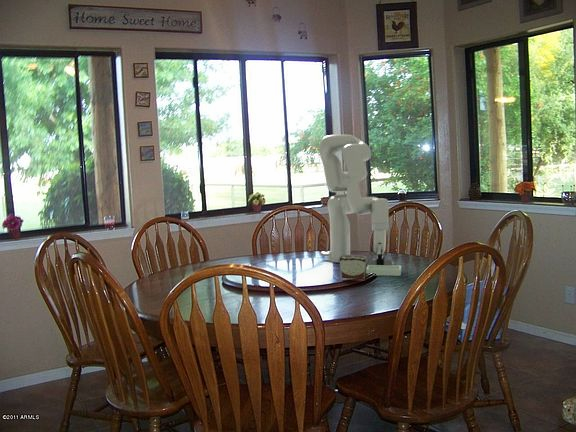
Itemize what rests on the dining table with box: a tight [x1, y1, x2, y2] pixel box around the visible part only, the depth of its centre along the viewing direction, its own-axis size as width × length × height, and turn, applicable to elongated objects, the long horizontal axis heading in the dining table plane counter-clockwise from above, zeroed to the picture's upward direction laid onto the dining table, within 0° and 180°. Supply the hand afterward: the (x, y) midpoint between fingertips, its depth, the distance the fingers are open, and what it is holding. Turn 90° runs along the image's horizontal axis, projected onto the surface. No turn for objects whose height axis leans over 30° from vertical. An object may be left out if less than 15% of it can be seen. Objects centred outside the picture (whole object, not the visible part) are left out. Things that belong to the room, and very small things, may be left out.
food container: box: [338, 254, 369, 279], centre depth 268 cm, size 12×6×10 cm, turn 71°
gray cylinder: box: [368, 258, 395, 265], centre depth 289 cm, size 11×4×4 cm, turn 79°
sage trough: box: [365, 264, 402, 277], centre depth 279 cm, size 15×9×3 cm, turn 79°
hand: (380, 266), depth 289 cm, fingers closed on gray cylinder, 4 cm apart
